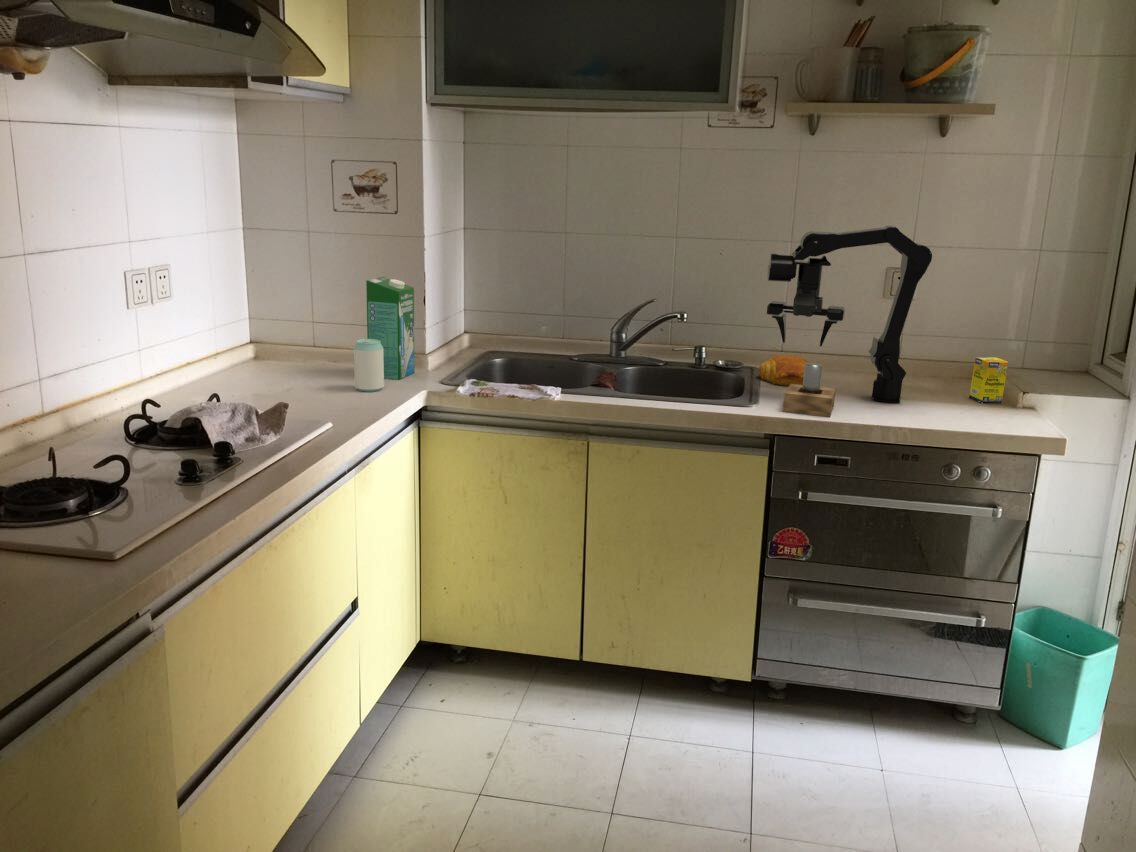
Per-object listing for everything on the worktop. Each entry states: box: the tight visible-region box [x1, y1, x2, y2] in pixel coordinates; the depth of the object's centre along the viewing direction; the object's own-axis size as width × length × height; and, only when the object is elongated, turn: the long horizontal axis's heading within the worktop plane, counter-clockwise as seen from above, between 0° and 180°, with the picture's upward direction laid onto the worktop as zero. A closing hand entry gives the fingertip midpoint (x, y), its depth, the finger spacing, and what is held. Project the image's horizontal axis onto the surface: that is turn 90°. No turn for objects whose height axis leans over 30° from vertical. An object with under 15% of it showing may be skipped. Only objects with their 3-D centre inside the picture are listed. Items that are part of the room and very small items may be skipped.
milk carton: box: [365, 276, 415, 381], centre depth 247 cm, size 9×9×25 cm
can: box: [353, 338, 385, 393], centre depth 234 cm, size 7×7×12 cm
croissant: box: [758, 354, 809, 387], centre depth 261 cm, size 14×16×8 cm
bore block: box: [782, 384, 837, 418], centre depth 232 cm, size 11×11×4 cm
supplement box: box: [968, 356, 1010, 404], centre depth 246 cm, size 6×6×11 cm
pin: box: [802, 362, 823, 394], centre depth 231 cm, size 4×4×10 cm
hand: (802, 344), depth 244 cm, fingers open, 9 cm apart
